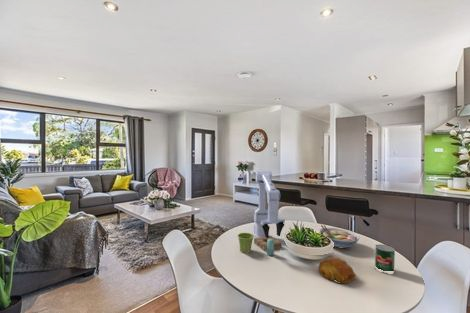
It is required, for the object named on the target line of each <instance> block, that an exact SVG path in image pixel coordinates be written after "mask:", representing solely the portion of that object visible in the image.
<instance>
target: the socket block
mask: <svg viewBox="0 0 470 313" xmlns="http://www.w3.org/2000/svg"><path fill="white" fill-rule="evenodd" d="M267 239H273V240H274V250H277V249H282V242H281V241H280V240H278V239H276V238H275V237H273V236H272V235H269V237H268V238H266V237H259V238H257V237H254V238H253V244H254V245H255V246H257V247H259V248H260V249H261V250H262V251H263V252H265V251H266V252H267Z"/></svg>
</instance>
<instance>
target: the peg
mask: <svg viewBox="0 0 470 313" xmlns="http://www.w3.org/2000/svg"><path fill="white" fill-rule="evenodd" d="M274 250H275V249H274V240H273V239H267V250H266V254H267V256H268V257H273V256H274V253H275V252H274Z"/></svg>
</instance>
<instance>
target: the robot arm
mask: <svg viewBox="0 0 470 313" xmlns="http://www.w3.org/2000/svg"><path fill="white" fill-rule="evenodd" d="M272 179H273V174H272V171H270V170H269V171H256V172H255V183H256V184H257V187H258V208H257V209H255V211H254V214H253V221H254V224H253V233H252V234H253V235H254V237H255V238H259V237H266V238H268V237H269V236H270V235H269V234H270V226H269V225H272V224H275V227H276V236H278V237H280V236H281V233H282V230H283V228H284V227H285V222H286V221H285V220H286V218H283V217H281V218H280V217H279V210H280V209H279V202H280V201H281V192H280V190H279V189H277V187H276V186H275V184H274V183H273V182H272ZM266 200H267V203H266ZM266 204H267V209H266Z"/></svg>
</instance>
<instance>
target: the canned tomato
mask: <svg viewBox="0 0 470 313" xmlns="http://www.w3.org/2000/svg"><path fill="white" fill-rule="evenodd" d="M374 251H375V253H374V254H375V255H374V256H375V257H374V261H375V262H374V267H375V266H376V267H377V268H378V269H381V270H383V271H394V272H395V258H396V257H395V252H396V249H395V248H394V247H392V246H390V245H385V244H376V245H375V250H374Z"/></svg>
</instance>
